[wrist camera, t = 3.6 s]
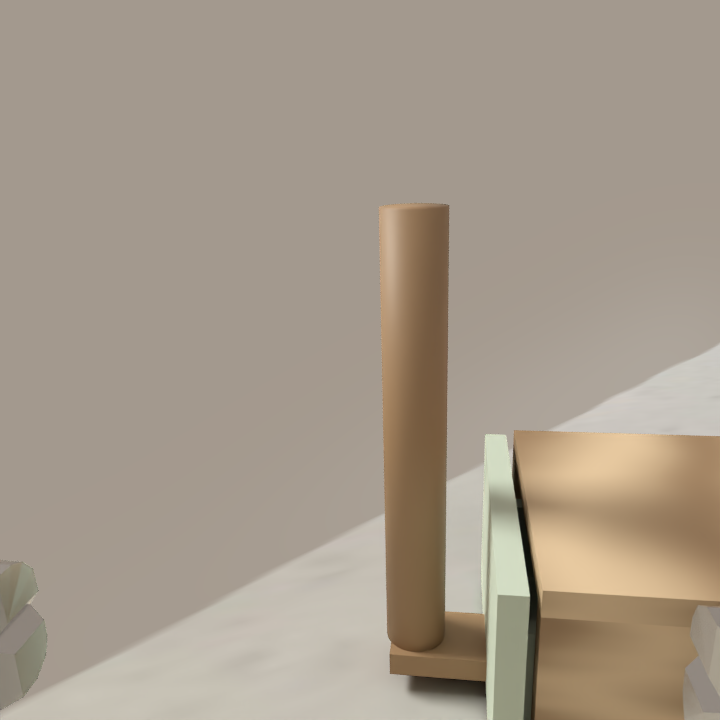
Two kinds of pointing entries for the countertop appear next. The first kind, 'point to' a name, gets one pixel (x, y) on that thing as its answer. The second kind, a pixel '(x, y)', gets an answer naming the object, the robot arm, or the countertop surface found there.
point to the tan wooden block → (617, 567)
